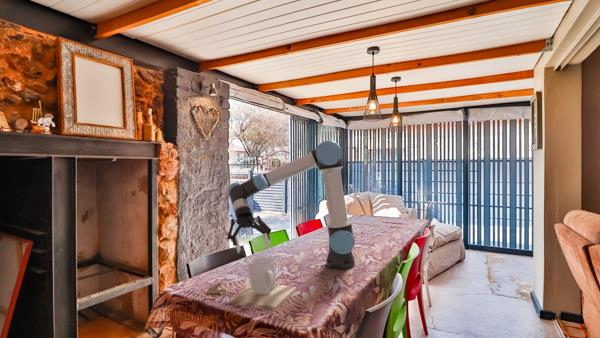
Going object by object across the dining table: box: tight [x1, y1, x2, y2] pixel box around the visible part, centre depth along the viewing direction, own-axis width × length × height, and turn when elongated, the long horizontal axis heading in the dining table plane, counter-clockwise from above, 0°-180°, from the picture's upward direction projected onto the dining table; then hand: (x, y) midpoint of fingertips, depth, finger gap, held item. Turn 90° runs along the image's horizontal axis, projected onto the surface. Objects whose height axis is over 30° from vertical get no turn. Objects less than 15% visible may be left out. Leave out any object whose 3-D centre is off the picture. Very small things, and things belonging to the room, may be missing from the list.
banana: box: [205, 277, 228, 296], centre depth 143 cm, size 9×20×2 cm, turn 14°
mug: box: [248, 256, 277, 295], centre depth 131 cm, size 15×11×13 cm
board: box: [228, 283, 297, 312], centre depth 131 cm, size 20×20×2 cm
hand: (254, 249), depth 140 cm, fingers open, 13 cm apart
